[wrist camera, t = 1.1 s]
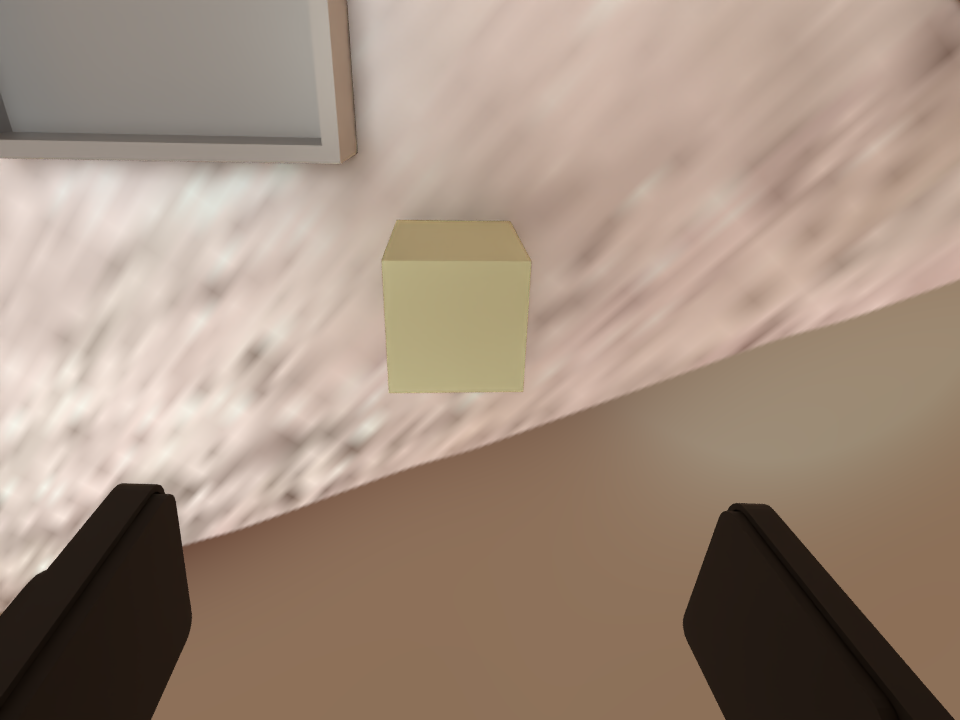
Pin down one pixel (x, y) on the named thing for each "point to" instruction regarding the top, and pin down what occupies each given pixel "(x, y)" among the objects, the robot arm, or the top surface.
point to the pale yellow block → (455, 306)
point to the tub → (177, 80)
